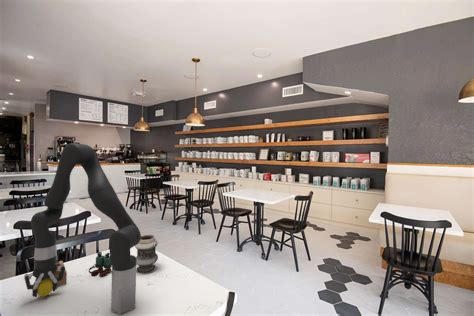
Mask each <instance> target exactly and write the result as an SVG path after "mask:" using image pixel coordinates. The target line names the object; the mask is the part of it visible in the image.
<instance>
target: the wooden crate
mask: <svg viewBox="0 0 474 316" xmlns="http://www.w3.org/2000/svg"><path fill="white" fill-rule="evenodd" d="M56 265H57V266H61V265H64V266H65V264H64V262H63V260H60V261H58V262H56ZM59 272H60V271H59V270H58V269H57V270H56V272H55V273H54V275H55V277H56V278H57V277H59ZM67 273H68V272H67V269H66V268H65V270H64V274H63V279H62V280H60V281H58V282H57V288H59V287H62V286H66V285H67V283H68V282H67V277H68V275H67ZM48 279H50V280H51V281H52V282H53V280H52V279H51V277H50V278H48ZM41 281H42V280H41ZM41 281H40V282H41Z"/></svg>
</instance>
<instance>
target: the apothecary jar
mask: <svg viewBox="0 0 474 316" xmlns="http://www.w3.org/2000/svg"><path fill="white" fill-rule="evenodd" d="M158 243H159V242H158V240H157V239H156V236H155V235H154V234H143V235H141V240H140V242H139V243H138V244H137V245H135V246H134V247H135V249H136V252H137V253H136V256H135V257H136V266H138V267H136V273H139V274H149V273H152V272H153V271H155V270H156V268H157V267H156V265H155V264H156V262H157V261H158V259H159V256H158V254H157V253H156V252H157V251H156V247H157V246H158Z"/></svg>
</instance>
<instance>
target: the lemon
mask: <svg viewBox="0 0 474 316" xmlns="http://www.w3.org/2000/svg"><path fill="white" fill-rule="evenodd" d="M52 292H53V282H52V281H51V280H50V279H44V280H42V281H41V282H40V283H39V284H38V286H37V296H39V297H42V298H43V297H44V298H46V297H47V296H48V295H50V294H51V293H52Z"/></svg>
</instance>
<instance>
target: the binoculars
mask: <svg viewBox="0 0 474 316" xmlns="http://www.w3.org/2000/svg"><path fill="white" fill-rule="evenodd" d="M102 254H103V253H102V252H101V251H97V256H96V257H95V264H93V266H90V267H89V268H88V273H89V274H91V275H90V276H91V277H97V276H99V277H100V278H103V277H105V276H107V274H108V273H110V272H112V264H111V261H110V252H106V253H105V254H104V255H102ZM93 269H94V270H93ZM91 270H93V271H91Z"/></svg>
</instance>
